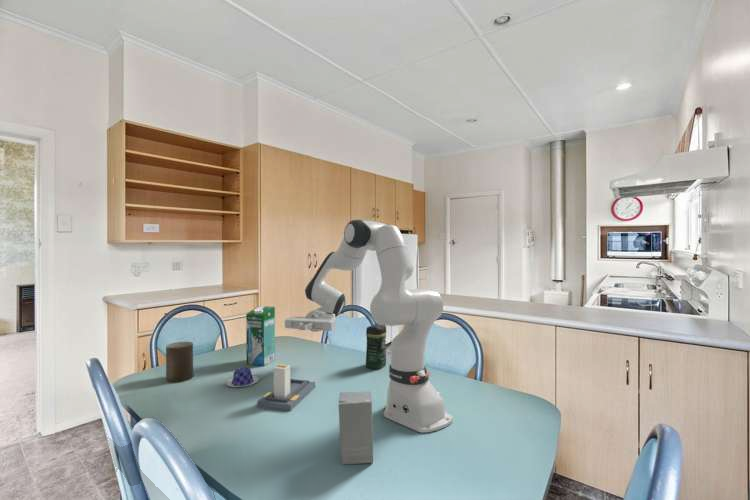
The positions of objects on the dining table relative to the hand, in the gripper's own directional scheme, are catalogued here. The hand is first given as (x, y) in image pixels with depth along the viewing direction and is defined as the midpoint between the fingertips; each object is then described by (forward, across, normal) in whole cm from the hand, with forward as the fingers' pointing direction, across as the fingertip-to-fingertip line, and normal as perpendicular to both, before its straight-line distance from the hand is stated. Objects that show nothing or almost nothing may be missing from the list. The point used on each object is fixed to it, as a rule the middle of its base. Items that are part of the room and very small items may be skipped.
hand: (301, 327), depth 138 cm
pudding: (+3, -24, +22) cm, 33 cm away
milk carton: (-20, -30, +22) cm, 42 cm away
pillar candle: (+5, -51, +22) cm, 56 cm away
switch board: (+11, 0, +22) cm, 25 cm away
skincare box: (+41, +34, +22) cm, 57 cm away
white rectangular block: (+16, 0, +20) cm, 25 cm away
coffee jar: (-27, +23, +22) cm, 42 cm away
